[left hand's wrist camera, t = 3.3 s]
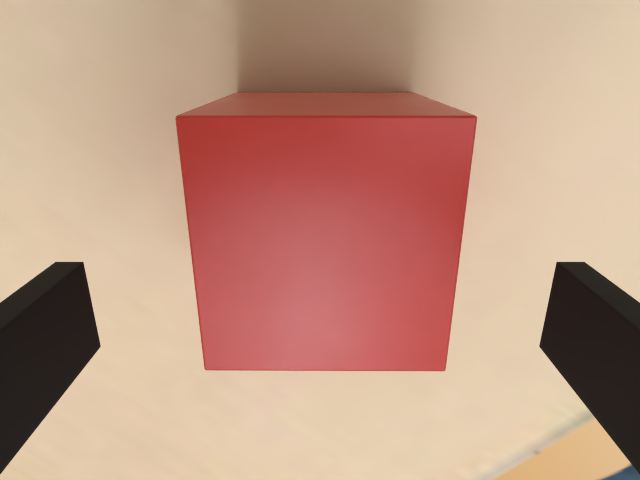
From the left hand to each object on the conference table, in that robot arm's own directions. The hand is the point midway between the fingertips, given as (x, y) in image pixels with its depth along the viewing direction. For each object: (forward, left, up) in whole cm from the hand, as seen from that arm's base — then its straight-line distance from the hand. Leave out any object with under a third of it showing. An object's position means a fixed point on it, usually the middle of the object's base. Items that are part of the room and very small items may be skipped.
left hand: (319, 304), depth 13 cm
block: (0, 0, -13) cm, 13 cm away
